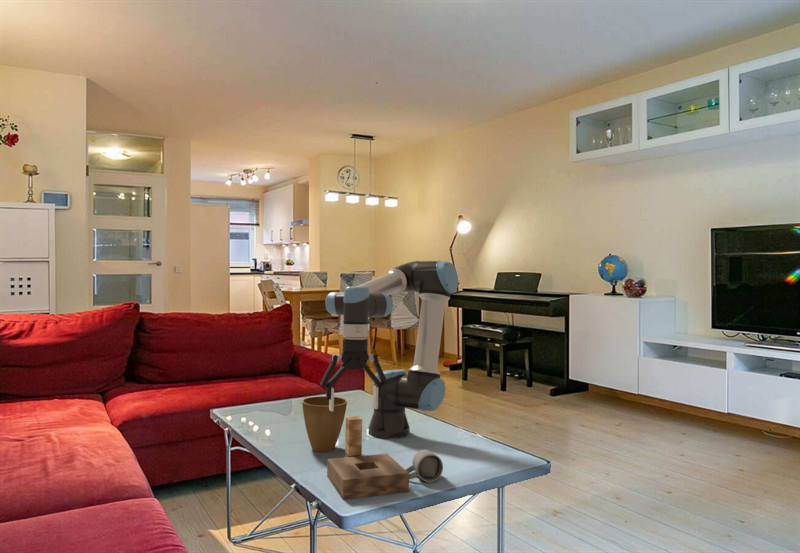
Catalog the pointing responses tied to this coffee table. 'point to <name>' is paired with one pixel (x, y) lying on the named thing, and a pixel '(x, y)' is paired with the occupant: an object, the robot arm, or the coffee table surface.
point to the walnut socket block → (367, 476)
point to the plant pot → (323, 421)
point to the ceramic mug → (426, 466)
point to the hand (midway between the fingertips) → (353, 409)
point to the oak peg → (353, 436)
